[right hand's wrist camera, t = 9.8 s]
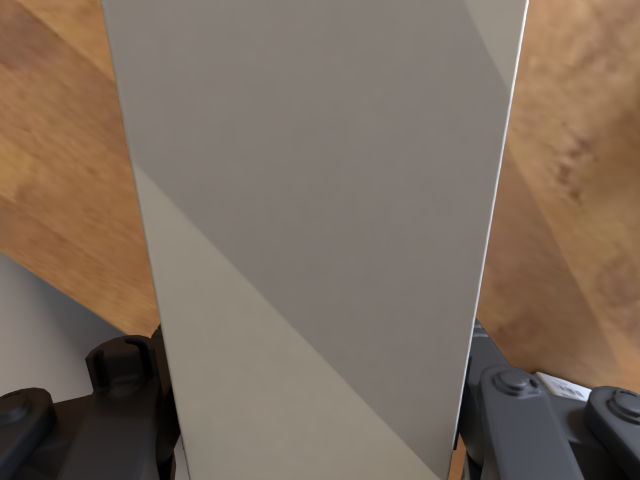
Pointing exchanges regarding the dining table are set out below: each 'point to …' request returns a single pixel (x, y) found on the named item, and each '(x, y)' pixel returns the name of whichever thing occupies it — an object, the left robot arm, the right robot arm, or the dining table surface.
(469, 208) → the post
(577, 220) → the dining table surface
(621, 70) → the dining table surface
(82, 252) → the dining table surface
